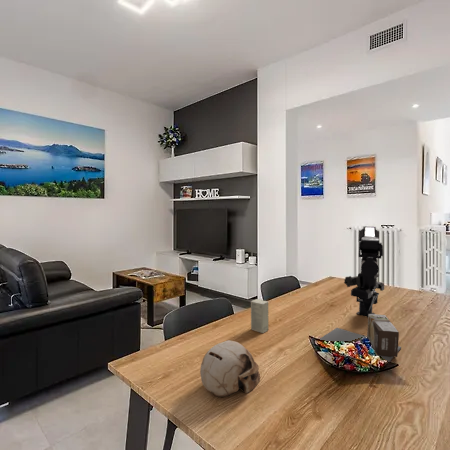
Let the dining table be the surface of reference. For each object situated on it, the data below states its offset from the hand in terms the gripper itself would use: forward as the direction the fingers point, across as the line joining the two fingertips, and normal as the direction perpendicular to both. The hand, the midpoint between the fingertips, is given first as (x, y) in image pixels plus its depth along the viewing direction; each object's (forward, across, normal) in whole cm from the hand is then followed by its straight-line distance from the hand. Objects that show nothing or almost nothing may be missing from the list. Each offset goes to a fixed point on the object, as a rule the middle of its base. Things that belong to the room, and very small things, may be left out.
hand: (367, 310), depth 116 cm
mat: (+11, +10, 0) cm, 15 cm away
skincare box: (+11, +24, -34) cm, 43 cm away
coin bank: (+11, +59, -16) cm, 62 cm away
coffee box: (+6, -3, +2) cm, 7 cm away
